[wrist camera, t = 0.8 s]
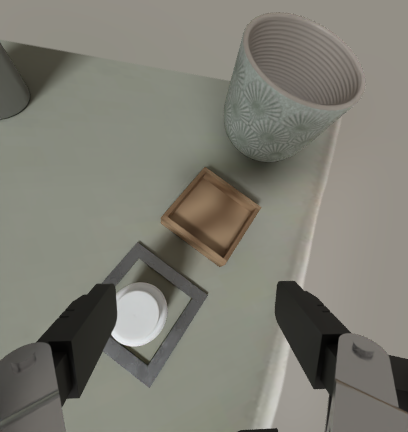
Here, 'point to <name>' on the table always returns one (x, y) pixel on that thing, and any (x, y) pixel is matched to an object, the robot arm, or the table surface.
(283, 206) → the table surface
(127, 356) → the grey square frame
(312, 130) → the planter
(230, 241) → the tray
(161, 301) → the supplement bottle
